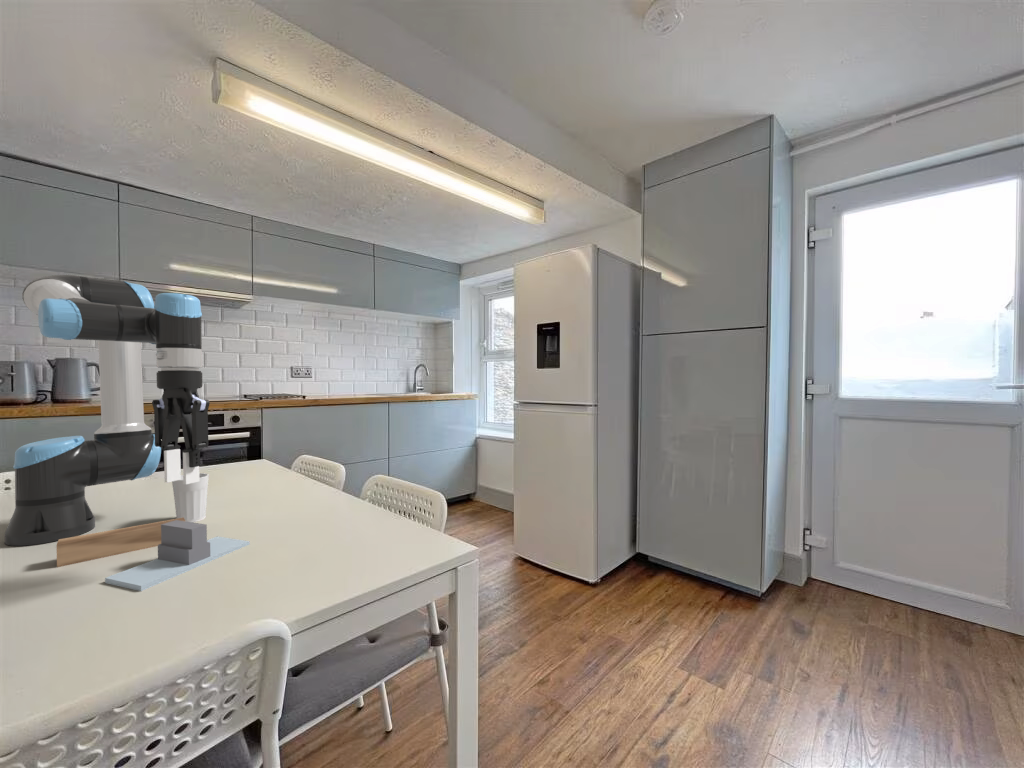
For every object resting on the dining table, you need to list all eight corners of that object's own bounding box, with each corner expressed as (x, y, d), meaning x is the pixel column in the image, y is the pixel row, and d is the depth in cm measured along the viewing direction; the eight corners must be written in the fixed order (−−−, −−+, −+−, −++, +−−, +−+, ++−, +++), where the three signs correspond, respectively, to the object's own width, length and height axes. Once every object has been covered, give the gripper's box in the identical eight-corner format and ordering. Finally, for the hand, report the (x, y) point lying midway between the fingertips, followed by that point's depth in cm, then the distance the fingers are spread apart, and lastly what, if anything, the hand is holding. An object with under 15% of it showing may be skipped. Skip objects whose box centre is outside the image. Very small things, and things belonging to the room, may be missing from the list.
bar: (59, 563, 91) (58, 539, 91) (184, 537, 105) (183, 517, 105) (57, 569, 88) (56, 544, 88) (185, 542, 102) (185, 521, 102)
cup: (169, 528, 111) (168, 481, 110) (176, 518, 118) (175, 475, 117) (206, 523, 114) (206, 477, 114) (211, 514, 121) (210, 471, 121)
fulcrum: (105, 583, 81) (104, 541, 81) (217, 540, 102) (216, 506, 102) (141, 591, 78) (140, 547, 78) (249, 545, 99) (249, 511, 99)
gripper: (130, 370, 89) (132, 483, 89) (192, 368, 83) (194, 489, 83) (169, 370, 96) (171, 475, 96) (228, 369, 90) (230, 480, 90)
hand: (182, 481), depth 90 cm, fingers open, 5 cm apart
